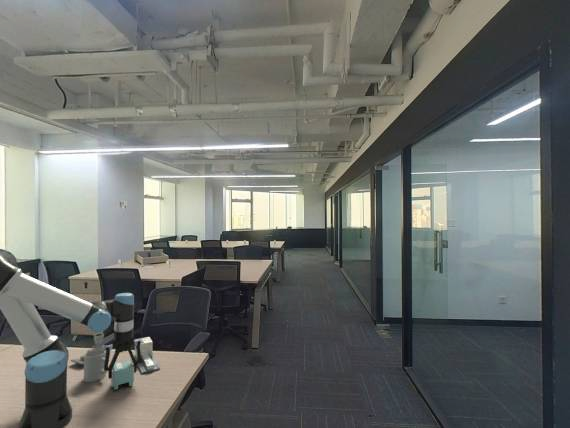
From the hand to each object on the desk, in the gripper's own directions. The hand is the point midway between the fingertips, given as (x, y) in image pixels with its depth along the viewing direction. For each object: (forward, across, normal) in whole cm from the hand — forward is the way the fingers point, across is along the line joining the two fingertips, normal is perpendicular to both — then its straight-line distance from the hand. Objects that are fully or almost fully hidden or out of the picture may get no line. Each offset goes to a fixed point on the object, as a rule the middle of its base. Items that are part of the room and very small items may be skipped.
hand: (122, 382), depth 134 cm
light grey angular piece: (+1, -12, -16) cm, 20 cm away
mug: (+1, +8, -13) cm, 16 cm away
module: (0, 0, 0) cm, 0 cm away
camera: (+1, +10, -35) cm, 36 cm away
